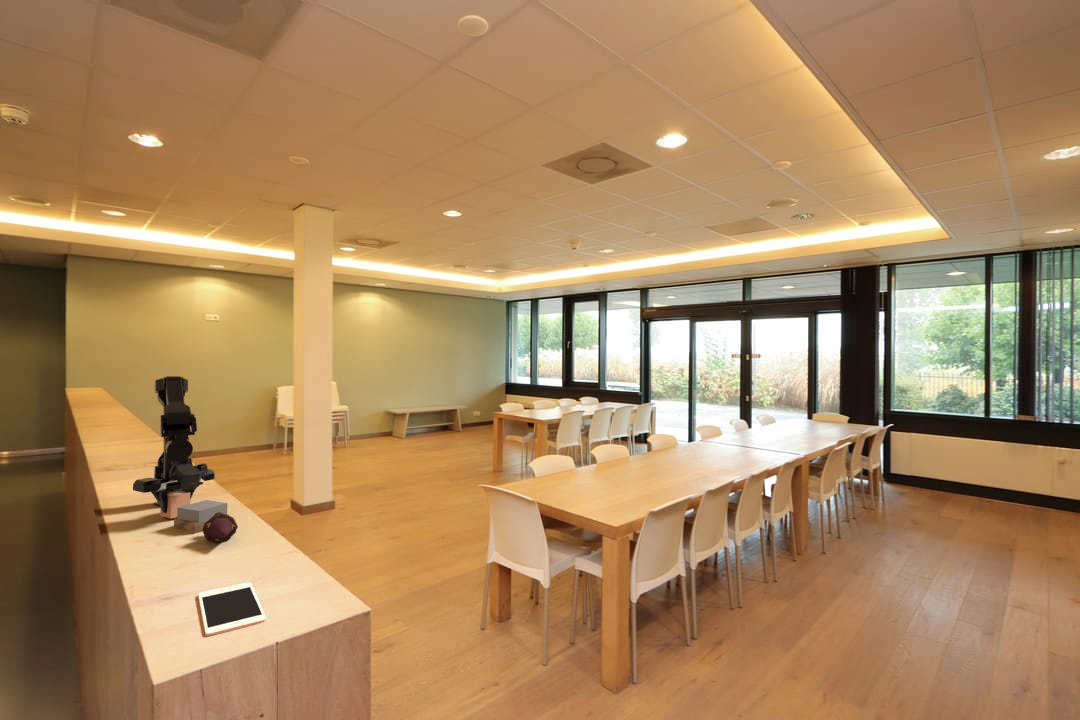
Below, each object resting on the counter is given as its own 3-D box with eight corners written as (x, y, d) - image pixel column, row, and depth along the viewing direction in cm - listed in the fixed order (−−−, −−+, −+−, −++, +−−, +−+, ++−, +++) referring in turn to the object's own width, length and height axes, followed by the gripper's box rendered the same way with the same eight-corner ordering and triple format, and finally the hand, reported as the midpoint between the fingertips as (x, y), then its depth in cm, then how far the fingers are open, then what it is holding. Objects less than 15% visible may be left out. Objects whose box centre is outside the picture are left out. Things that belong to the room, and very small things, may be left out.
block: (160, 515, 144) (160, 494, 144) (179, 511, 148) (179, 490, 148) (170, 518, 141) (171, 496, 141) (189, 513, 146) (190, 492, 146)
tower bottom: (173, 530, 136) (174, 518, 136) (208, 520, 144) (208, 509, 144) (194, 535, 132) (194, 523, 132) (228, 525, 140) (229, 514, 140)
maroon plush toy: (246, 519, 124) (235, 510, 135) (211, 517, 119) (203, 507, 131) (237, 550, 122) (227, 538, 134) (201, 548, 118) (194, 536, 129)
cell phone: (250, 586, 103) (250, 581, 103) (266, 624, 89) (266, 618, 89) (197, 597, 98) (197, 592, 98) (205, 639, 83) (205, 634, 83)
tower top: (177, 518, 135) (177, 507, 135) (206, 510, 143) (206, 499, 143) (198, 522, 133) (199, 511, 133) (227, 514, 140) (227, 503, 140)
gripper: (156, 463, 133) (155, 524, 133) (227, 452, 150) (226, 506, 150) (132, 459, 138) (131, 517, 138) (203, 449, 154) (202, 501, 154)
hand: (175, 510), depth 145 cm, fingers closed on block, 5 cm apart
